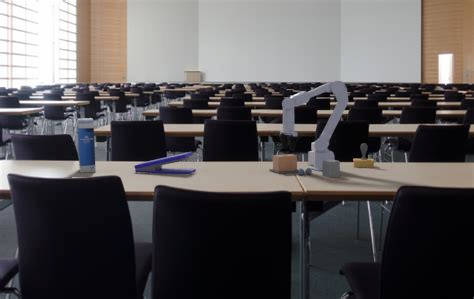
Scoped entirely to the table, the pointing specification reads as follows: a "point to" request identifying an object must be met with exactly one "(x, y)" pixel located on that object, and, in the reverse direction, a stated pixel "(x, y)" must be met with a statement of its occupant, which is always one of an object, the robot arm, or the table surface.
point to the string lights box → (86, 145)
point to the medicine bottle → (311, 155)
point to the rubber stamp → (363, 159)
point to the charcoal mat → (283, 171)
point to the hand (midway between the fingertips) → (288, 149)
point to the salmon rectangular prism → (284, 162)
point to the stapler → (156, 165)
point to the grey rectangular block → (331, 168)
